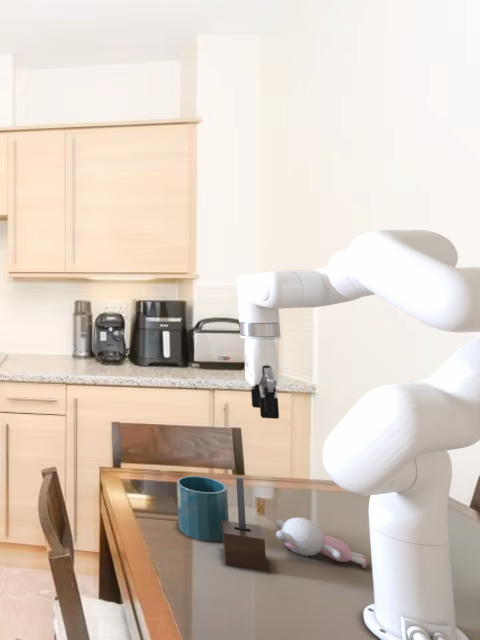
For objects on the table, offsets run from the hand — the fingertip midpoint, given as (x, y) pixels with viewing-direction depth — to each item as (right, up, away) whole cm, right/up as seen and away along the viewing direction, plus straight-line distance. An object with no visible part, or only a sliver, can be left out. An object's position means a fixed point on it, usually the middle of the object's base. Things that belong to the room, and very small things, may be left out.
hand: (265, 412), depth 108 cm
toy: (+7, -27, -6) cm, 29 cm away
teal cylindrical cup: (-10, -28, +6) cm, 30 cm away
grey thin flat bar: (-8, -27, -7) cm, 29 cm away
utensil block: (-8, -27, -7) cm, 29 cm away
